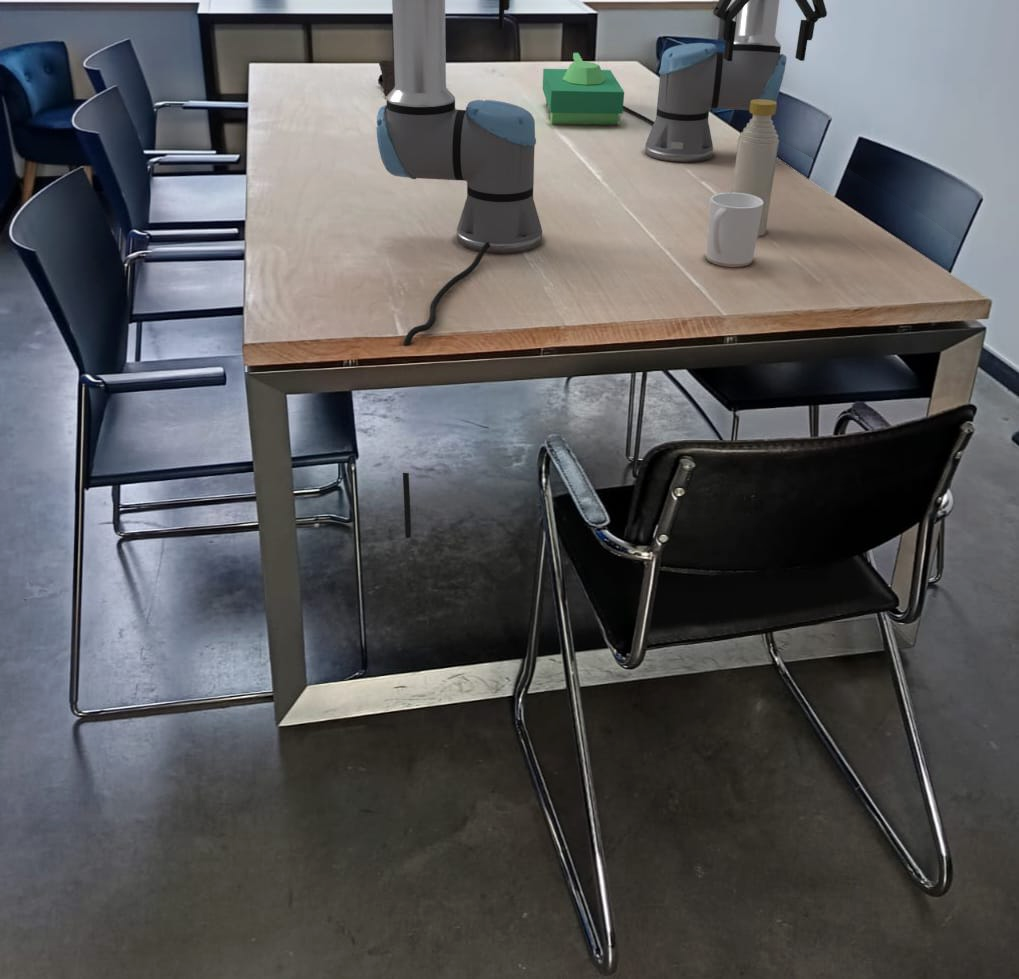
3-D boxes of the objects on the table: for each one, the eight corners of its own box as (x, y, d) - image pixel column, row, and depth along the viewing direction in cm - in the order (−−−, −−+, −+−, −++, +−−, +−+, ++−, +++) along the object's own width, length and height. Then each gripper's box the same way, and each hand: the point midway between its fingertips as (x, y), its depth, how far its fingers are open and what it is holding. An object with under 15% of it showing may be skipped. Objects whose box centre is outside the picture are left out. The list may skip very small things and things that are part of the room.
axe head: (443, 87, 294) (392, 77, 287) (436, 115, 299) (385, 106, 292) (421, 62, 307) (371, 52, 300) (414, 89, 311) (365, 80, 304)
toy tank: (607, 49, 292) (625, 75, 262) (604, 97, 299) (621, 128, 269) (541, 48, 291) (552, 74, 261) (539, 96, 298) (549, 127, 268)
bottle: (766, 227, 205) (784, 101, 194) (764, 238, 200) (783, 110, 188) (728, 223, 207) (744, 98, 195) (725, 235, 201) (741, 107, 189)
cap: (776, 111, 194) (777, 100, 193) (774, 116, 190) (776, 105, 189) (749, 109, 194) (751, 98, 193) (748, 114, 191) (749, 103, 190)
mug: (719, 246, 195) (726, 189, 189) (764, 258, 190) (773, 199, 185) (687, 262, 187) (693, 203, 182) (733, 275, 183) (741, 214, 177)
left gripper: (534, -91, 215) (530, 25, 226) (409, -94, 217) (412, 20, 229) (530, -88, 209) (526, 31, 220) (401, -92, 211) (405, 26, 222)
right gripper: (717, -70, 183) (702, 63, 195) (859, -69, 186) (837, 63, 197) (704, -74, 190) (691, 55, 201) (842, -73, 192) (822, 55, 204)
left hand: (468, 26), depth 224 cm, fingers open, 13 cm apart
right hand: (763, 59), depth 199 cm, fingers open, 13 cm apart
